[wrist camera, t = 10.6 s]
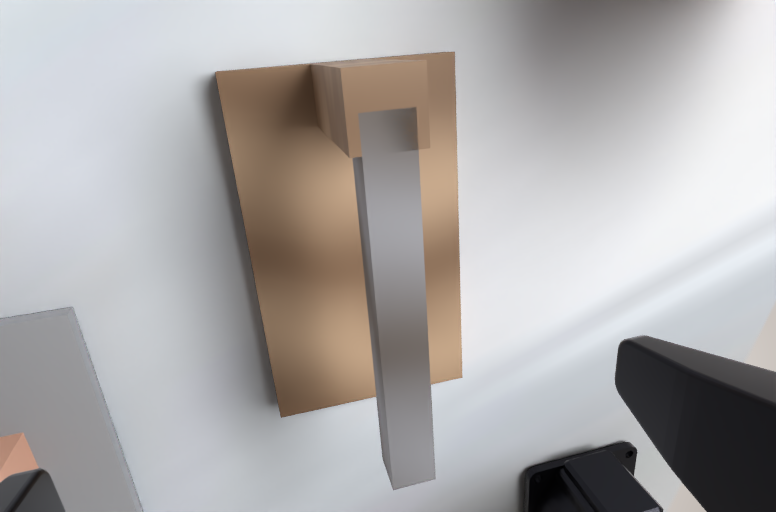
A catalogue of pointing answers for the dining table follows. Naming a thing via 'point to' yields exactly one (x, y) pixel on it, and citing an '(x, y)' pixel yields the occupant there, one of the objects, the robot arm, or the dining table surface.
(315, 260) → the stand
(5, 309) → the dining table surface
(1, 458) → the u-shaped block
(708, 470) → the robot arm
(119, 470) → the coaster
